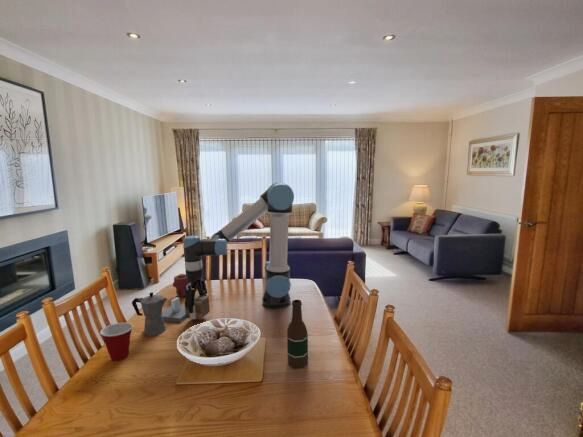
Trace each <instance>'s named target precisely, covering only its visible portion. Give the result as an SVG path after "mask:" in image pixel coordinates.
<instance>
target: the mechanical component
mask: <svg viewBox="0 0 583 437" xmlns="http://www.w3.org/2000/svg"><path fill="white" fill-rule="evenodd" d="M188 283H189V279H188V278H187V277H186V273H185V274H184V273H180V274H178V275H175V276H174V277H173V282H172V286H173V287H174V288H175V292H176V295H178V296H179V298H180V299H181V298H183V297H185V285H188Z"/></svg>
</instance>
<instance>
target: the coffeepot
mask: <svg viewBox="0 0 583 437" xmlns="http://www.w3.org/2000/svg"><path fill="white" fill-rule="evenodd" d="M148 294H149V295H148V296H145V297H135V298H134V299H133V300H132V301H131V305H132V307H133V309H134V310H135V313H136V315H137V316H140V317H142V316H144V317H145V318H144V328H143V329H144V331H143V334H144V336H147V337H148V336H151V337H152V336H157V335H160V334H162V333H163V332H164V331H165V330H166V323H165V321H164V320H163V317H162V312H163V307H164V304H165V303H166V302H167V301H168V298H166V297H164V296H163V295H160V294H154V292H150V293H148ZM137 303H140V305H141V308H142V312H143V313H142V312H141V313H140V309H139V308H138V304H137Z"/></svg>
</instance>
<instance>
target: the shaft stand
mask: <svg viewBox="0 0 583 437" xmlns="http://www.w3.org/2000/svg"><path fill="white" fill-rule="evenodd" d="M180 299H181V298H180V297H177V296H175V297H174V298H173V299H171V300H170V304H171V305H170V306H168V307H167V308H165V309H164V310H162V317H163V320H164V322H165V321H166V322H173V323H182V322H183V321H185V319H187V318H186V313H185V305H181V302H180Z"/></svg>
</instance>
